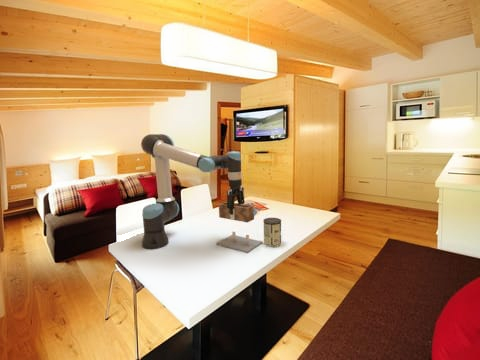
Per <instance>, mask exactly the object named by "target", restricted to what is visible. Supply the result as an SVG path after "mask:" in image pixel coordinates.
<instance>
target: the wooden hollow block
mask: <svg viewBox="0 0 480 360" xmlns="http://www.w3.org/2000/svg"><path fill="white" fill-rule="evenodd" d="M233 209H234V211H235V220H234V221H237V222H242V223H243V222H244V223H250V222H252V221H253V220H255V205H252V204H245V203H244V204H239V203H238V202H234V208H233ZM218 213H219V214H218V218H220V219H227V220H230V209H228V208H227V201H224V202H222V203H219V204H218Z"/></svg>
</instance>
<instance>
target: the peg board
mask: <svg viewBox="0 0 480 360" xmlns="http://www.w3.org/2000/svg"><path fill="white" fill-rule="evenodd" d="M262 244H263V241H261V240H258V239H252V238H250V234H245V237H244V236H241V235H236V231H232V233H231V235H229V236H226V237H225V238H222V239H221V240H220V241H218V242H216V243H215V245H216V246H220V247H223V248H226V249H230V250H235V251H239V252H242V253H245V254H246V253H247V254H249V253H250V252H251V251H253V250H255V249H256V248H258V247H259V246H261V245H262Z"/></svg>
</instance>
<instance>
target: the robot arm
mask: <svg viewBox="0 0 480 360" xmlns="http://www.w3.org/2000/svg"><path fill="white" fill-rule="evenodd" d="M140 146H141V149H142V151H143V152H144V153H146V154H147V155H151V158H153V159H154V165H155V166H154V167H155V168H154V169H155V176H156V187H157V197H158V198H157V199H156V200H155V202H156V203H151V204H148V205H146V206H144V207H143V208H142V216H141V217H142V222H143V223H142V224H143V237H142V240H141V246H142V248H144V249H147V250H152V249H153V250H155V249H161V248H163V247H166V246H168V245H169V237H168V235H167V233H166V229H165V223H167V222H169V221H170V220H173V219H174V218H175V217H177V216H178V215H179V212H180V205H179V204H178V203H177V201H176V198H175V197H174V196H173V191H172V189H173V188H172V178H171V175H172V174H171V165H170V160H172V161H175V162H178V163H181V164H184V165H187V166H190V167H194V168H196V169H199V170H200V171H201V172H203V173H210V172H213V171H216V170H219V169H221V170H222V169H223V170H224V169H226V170H227V171H228V172H227V176H228V177H227V178H228V186H229V190H226V202H227V208H228V209H230V219H229V220H231V221H236V220H235V211H234V209H233V208H234V203H236V202H235V201H237V203H239V204H245V203H246V202H245V194H244V189H245V188H244V187H242V185H243V182H242V180H243V179H242V178H243V177H242V156H241V151H228V152H227V154H226V155H225V154H224V155H215V154H214V155H208V156H207V155H204V154H201V153H197V152H195V151H190V150H188V149H185V148H182V147H179V146H178V147H177V146H176V145H175V142H174V141H173V139H172V137H170V136H169V135H167V134H162V133H157V134H155V133H154V134H153V133H152V134H151V133H150V134H147V135H145V136H144V137H142V139H141V144H140Z"/></svg>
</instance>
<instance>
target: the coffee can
mask: <svg viewBox="0 0 480 360" xmlns="http://www.w3.org/2000/svg"><path fill="white" fill-rule="evenodd" d="M281 244H282V219H280V218H278V217H266V218H263V245H265V246H267V247H271V248H273V247H279V246H281Z"/></svg>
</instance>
